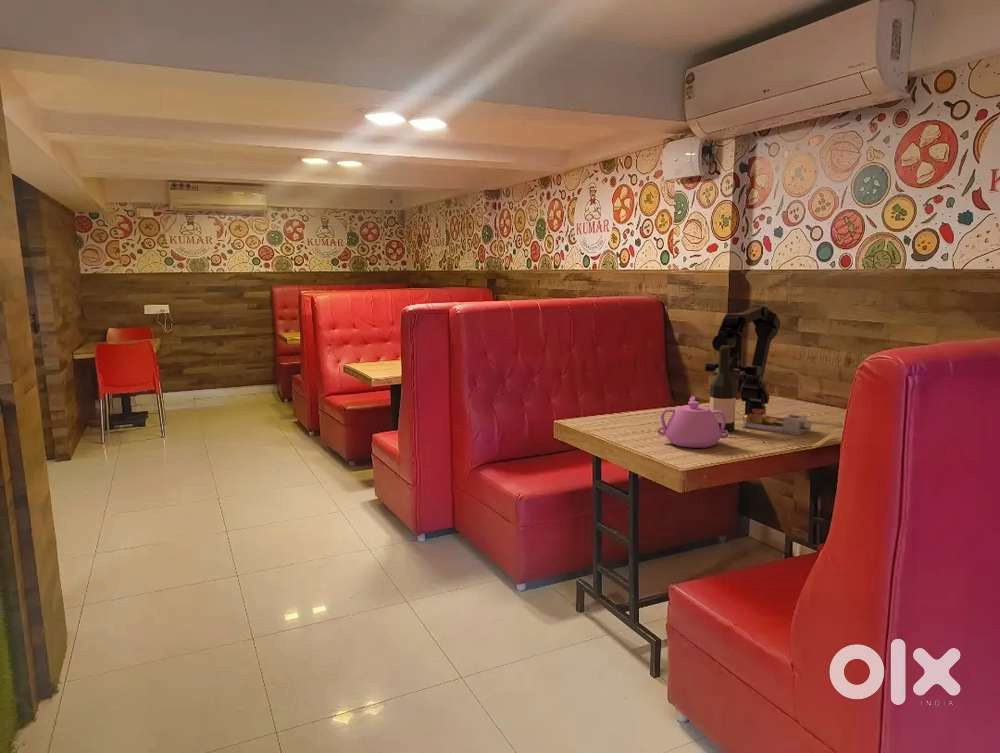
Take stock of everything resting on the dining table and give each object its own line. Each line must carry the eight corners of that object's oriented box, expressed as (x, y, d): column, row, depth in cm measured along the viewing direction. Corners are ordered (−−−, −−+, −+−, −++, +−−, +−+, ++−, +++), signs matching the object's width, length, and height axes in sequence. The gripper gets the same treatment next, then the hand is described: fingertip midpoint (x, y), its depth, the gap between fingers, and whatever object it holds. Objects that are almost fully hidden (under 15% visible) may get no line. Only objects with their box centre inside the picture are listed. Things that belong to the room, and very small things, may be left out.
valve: (741, 425, 238) (742, 408, 237) (746, 423, 241) (747, 406, 240) (773, 429, 231) (774, 412, 230) (777, 427, 234) (778, 410, 233)
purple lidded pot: (724, 436, 227) (725, 395, 225) (731, 452, 206) (733, 408, 204) (657, 433, 232) (658, 393, 230) (657, 448, 211) (658, 405, 209)
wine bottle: (734, 430, 234) (738, 345, 230) (734, 436, 226) (738, 347, 222) (709, 429, 237) (712, 344, 233) (708, 434, 229) (711, 346, 225)
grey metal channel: (740, 430, 234) (741, 413, 233) (753, 424, 243) (754, 408, 242) (803, 439, 221) (805, 421, 220) (814, 433, 230) (815, 415, 229)
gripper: (699, 349, 239) (697, 392, 241) (751, 353, 227) (749, 398, 229) (712, 346, 247) (710, 388, 249) (763, 350, 235) (761, 394, 237)
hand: (732, 392), depth 241 cm, fingers open, 5 cm apart
